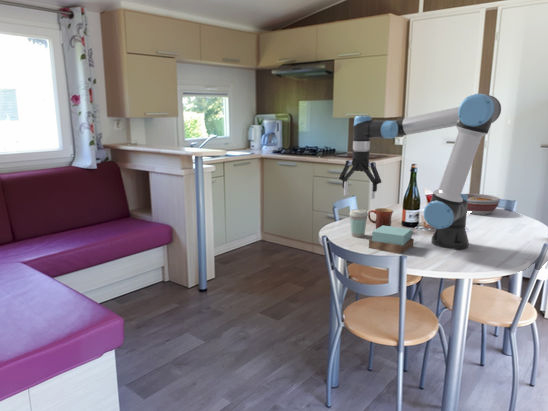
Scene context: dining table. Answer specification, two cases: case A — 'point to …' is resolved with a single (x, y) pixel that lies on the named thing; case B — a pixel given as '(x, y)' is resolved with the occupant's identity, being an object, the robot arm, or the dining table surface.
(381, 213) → the mug
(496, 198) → the bowl
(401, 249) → the tower base
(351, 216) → the coffee cup
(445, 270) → the dining table surface
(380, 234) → the tower top
